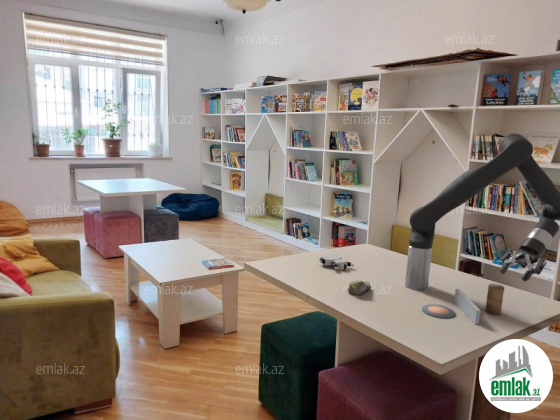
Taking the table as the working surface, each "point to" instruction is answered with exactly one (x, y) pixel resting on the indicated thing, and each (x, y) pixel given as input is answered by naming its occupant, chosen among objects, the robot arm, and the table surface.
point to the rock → (358, 287)
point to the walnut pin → (494, 299)
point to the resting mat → (438, 311)
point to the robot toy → (334, 261)
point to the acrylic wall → (467, 306)
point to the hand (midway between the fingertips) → (512, 276)
